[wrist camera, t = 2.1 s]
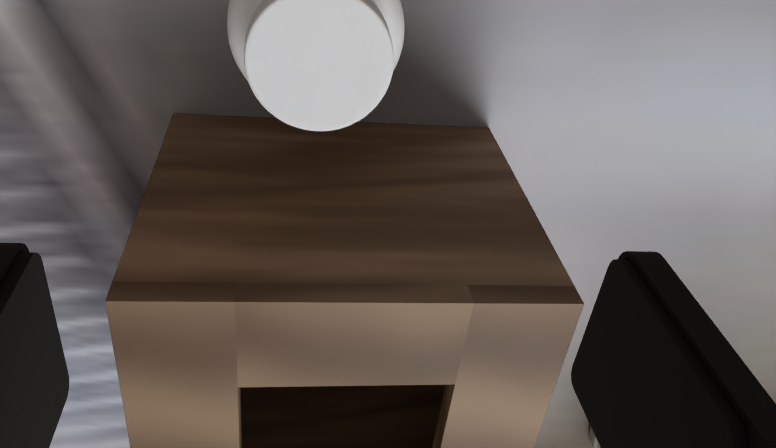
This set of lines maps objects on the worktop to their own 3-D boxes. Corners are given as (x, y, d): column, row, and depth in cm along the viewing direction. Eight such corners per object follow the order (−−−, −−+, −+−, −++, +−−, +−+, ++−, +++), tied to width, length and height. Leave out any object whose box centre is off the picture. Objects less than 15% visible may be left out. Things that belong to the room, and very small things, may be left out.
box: (173, 113, 32) (105, 301, 21) (489, 128, 35) (583, 303, 23) (192, 350, 41) (152, 573, 30) (443, 348, 44) (495, 555, 32)
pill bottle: (378, 45, 32) (410, 155, 23) (246, 42, 31) (225, 154, 22) (386, -98, 28) (428, -36, 19) (237, -105, 27) (208, -44, 18)
